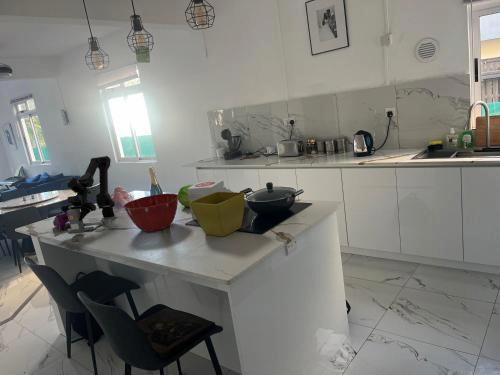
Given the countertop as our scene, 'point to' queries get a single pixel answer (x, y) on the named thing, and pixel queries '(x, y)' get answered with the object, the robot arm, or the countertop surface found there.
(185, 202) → the lettuce
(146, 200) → the mixing bowl
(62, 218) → the mounting bracket
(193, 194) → the pizza boxes
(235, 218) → the flower pot
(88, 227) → the rail plate
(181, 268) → the countertop surface
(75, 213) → the block
